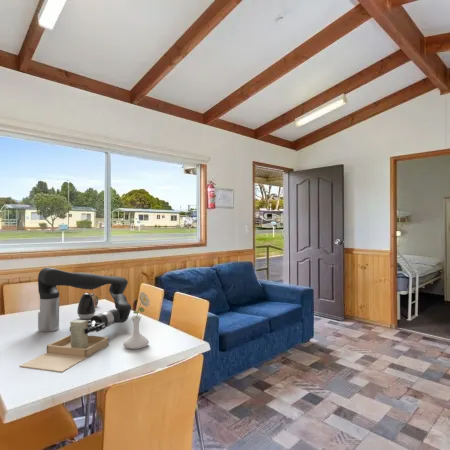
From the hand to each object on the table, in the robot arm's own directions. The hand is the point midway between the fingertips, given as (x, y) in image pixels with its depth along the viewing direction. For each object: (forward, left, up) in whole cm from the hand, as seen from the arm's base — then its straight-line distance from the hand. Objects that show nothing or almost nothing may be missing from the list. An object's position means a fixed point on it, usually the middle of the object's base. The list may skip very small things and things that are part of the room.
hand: (77, 330), depth 149 cm
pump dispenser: (-29, +44, -9) cm, 54 cm away
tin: (-42, +65, -9) cm, 78 cm away
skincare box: (0, +1, -8) cm, 8 cm away
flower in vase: (+24, +10, -9) cm, 28 cm away
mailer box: (0, -7, -9) cm, 11 cm away
